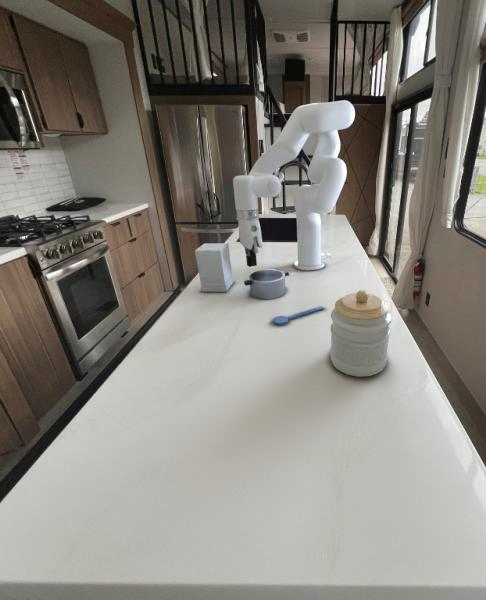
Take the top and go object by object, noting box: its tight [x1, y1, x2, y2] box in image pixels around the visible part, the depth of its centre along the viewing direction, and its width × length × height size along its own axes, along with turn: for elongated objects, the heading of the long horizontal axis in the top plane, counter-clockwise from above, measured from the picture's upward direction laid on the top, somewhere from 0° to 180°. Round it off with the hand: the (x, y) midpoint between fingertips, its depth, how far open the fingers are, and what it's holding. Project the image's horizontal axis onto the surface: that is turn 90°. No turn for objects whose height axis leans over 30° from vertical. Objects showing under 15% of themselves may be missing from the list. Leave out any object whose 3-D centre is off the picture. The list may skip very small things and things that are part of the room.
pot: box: [243, 268, 290, 300], centre depth 110 cm, size 16×12×6 cm
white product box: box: [194, 242, 234, 293], centre depth 113 cm, size 9×9×15 cm
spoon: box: [273, 306, 324, 326], centre depth 95 cm, size 16×4×1 cm, turn 122°
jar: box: [329, 289, 393, 377], centre depth 71 cm, size 13×13×18 cm
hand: (251, 265), depth 117 cm, fingers closed
